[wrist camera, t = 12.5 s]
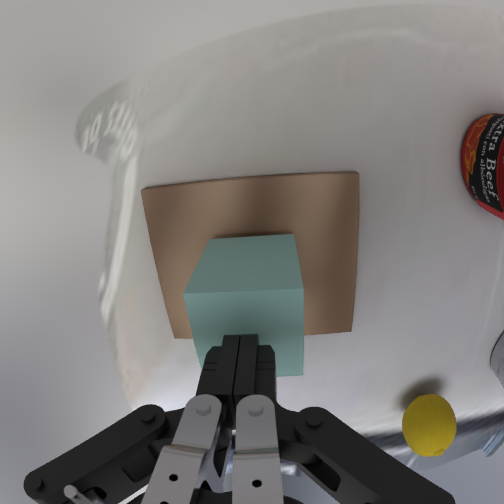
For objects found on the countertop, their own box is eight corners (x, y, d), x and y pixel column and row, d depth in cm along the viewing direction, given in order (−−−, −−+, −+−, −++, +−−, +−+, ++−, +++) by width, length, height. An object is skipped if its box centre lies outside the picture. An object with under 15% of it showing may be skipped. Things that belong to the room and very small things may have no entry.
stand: (355, 171, 19) (401, 201, 12) (349, 325, 24) (371, 398, 17) (145, 187, 20) (85, 224, 13) (177, 332, 25) (148, 402, 18)
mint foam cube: (293, 233, 19) (303, 288, 13) (296, 306, 21) (303, 375, 15) (209, 239, 20) (182, 293, 13) (220, 309, 22) (203, 377, 16)
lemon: (399, 385, 26) (421, 448, 19) (446, 374, 26) (474, 431, 18) (390, 416, 29) (406, 475, 21) (433, 406, 28) (454, 459, 21)
